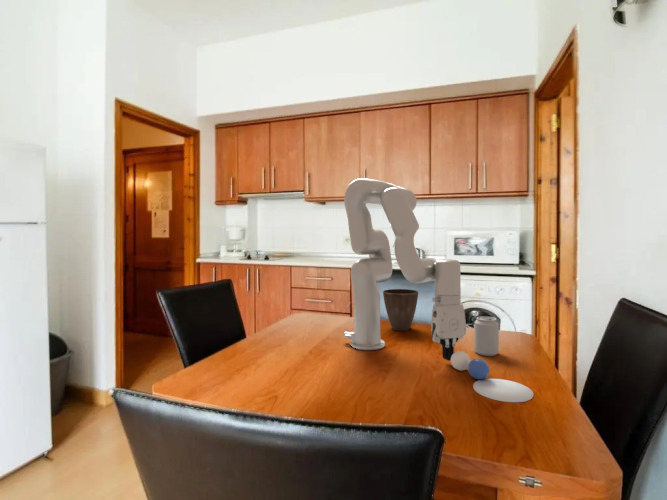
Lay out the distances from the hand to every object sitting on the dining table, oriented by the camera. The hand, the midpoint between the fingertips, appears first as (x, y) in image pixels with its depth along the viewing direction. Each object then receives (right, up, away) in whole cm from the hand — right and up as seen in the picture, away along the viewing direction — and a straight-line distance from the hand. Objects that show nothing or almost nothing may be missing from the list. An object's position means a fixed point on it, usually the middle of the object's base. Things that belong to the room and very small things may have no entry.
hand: (448, 359), depth 114 cm
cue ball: (+2, +1, -5) cm, 6 cm away
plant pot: (-6, 0, +44) cm, 45 cm away
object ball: (+5, +1, -12) cm, 13 cm away
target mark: (+8, -2, -19) cm, 21 cm away
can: (+16, -1, +10) cm, 19 cm away
